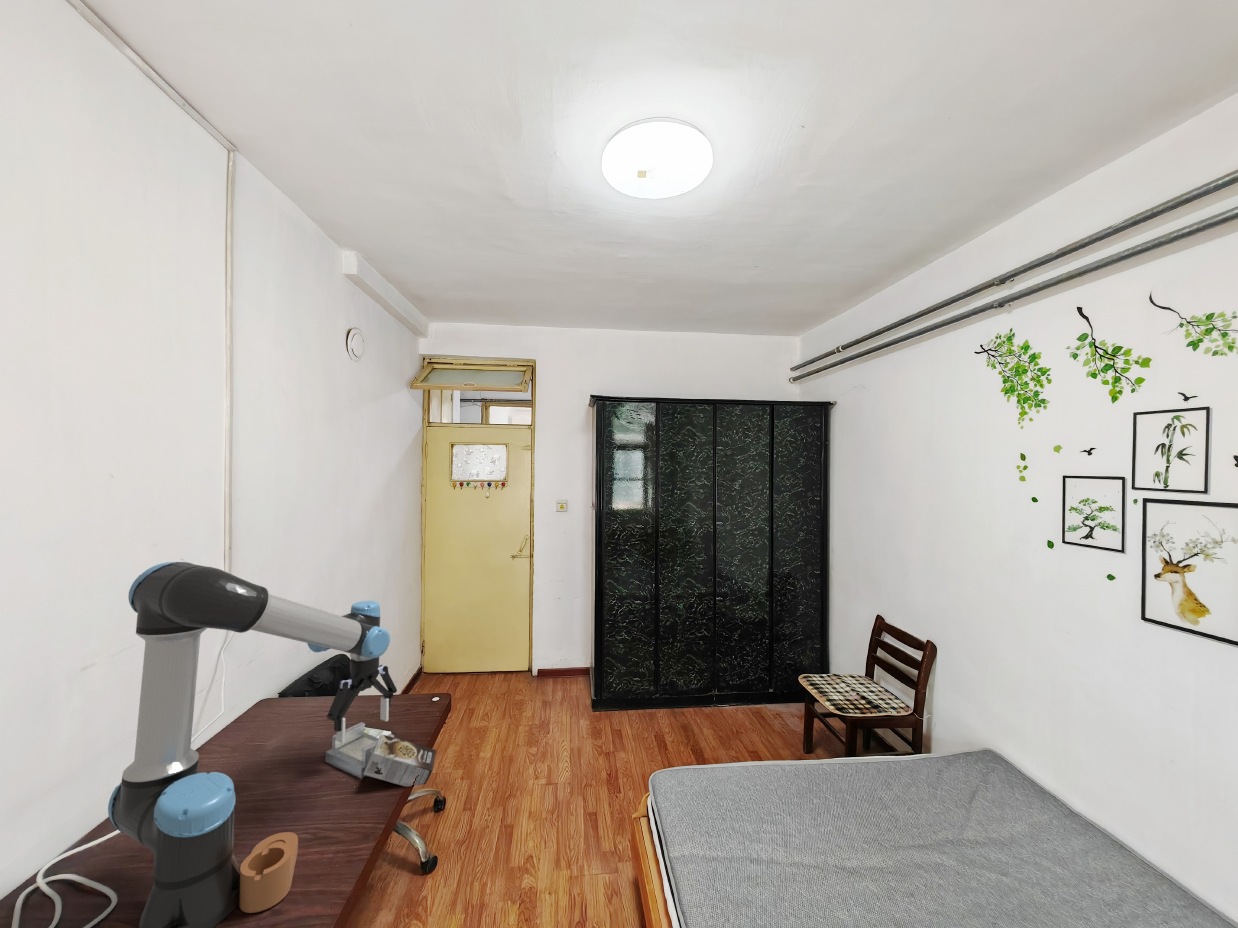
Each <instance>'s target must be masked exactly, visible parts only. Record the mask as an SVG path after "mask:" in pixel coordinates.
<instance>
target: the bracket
mask: <svg viewBox="0 0 1238 928" xmlns="http://www.w3.org/2000/svg"><path fill="white" fill-rule="evenodd" d="M298 850H299V837H298V835H297V834H296V833H294V832H291V831H288V832H287V831H284V832H279V833H275V834H272V835H270V836H267V837H266V838H264V839H262V840H261V841H260V842H259V843H257V844H256V845H255V846H254V847H253V849H252V850H251V853H250V854H249V855H248V856H246V858H245V859H244V860H243V861H242V863H241V865H240V866H239V868H240V901H239V903H238V904H239V905H238V906H239V909H240V910H241V911H242V912H244V913H249V914H253V913H259V912H263V911H265V910H268V909H271V908H272V907H273V906H276V905H277V904H279V902H281V901H282V900H283V899H284V898H285V897H286V896H287V895H288V893H289V892H290V890H291V887H292V882H293V877H294V872H295V869H296V868H295V867H296V864H297V863H296V862H297V857H298V853H299V851H298Z"/></svg>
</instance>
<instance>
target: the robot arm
mask: <svg viewBox="0 0 1238 928" xmlns="http://www.w3.org/2000/svg"><path fill="white" fill-rule="evenodd" d="M128 603H129V606H130V607H131V609H132V610H133V612H134V613H137V616H136V627H135V629H136V630H135V634H136V635H137V636H138V637H139V638H141V639H142V640H144V642H145V643H144V652H143V664H142V675H141V682H140V683H141V686H140V697H139V706H138V707H139V708H138V715H137V716H138V718H137V725H136V727H137V729H136V737H135V738H136V740H135V748H134V749H135V750H134V759H133V761H132V763H131V764H130V765H128V766H127V767H126V768H125V769H124V770H123V771H122V776H121V782H120V783H119V784H118V785H117V786H116V787H115V788H114V790H113V791H112V793H111V795H110V798H109V801H108V805H107V813H108V814H107V815H108V817H109V821H111V823H112V824H113V826H114V827H115V829H117V831H119V832H120V833H121V834H125V835H126V836H128V837H130V838H131V839H133V840H135V841H136V842H138V843H140V844H141V845H142V846H144V847H146V848H147V849H149V850H150V851H152V853H153V856H154V857H153V885H152V888H151V890H150V892H149V895H148V897H147V901H146V903H145V906H144V909H143V911H142V913H141V915H140V916H141V917H140V919H139V928H214V927H215V926H217V925H218V924H219V923H221V922H222V921H223V920H225V919H226V918H227V917H229V915H230V914H231V913H232V912H233V911H234V910H235V908H236V907H237V906H239V905H238V904H239V901H240V866H239V864H238V862H237V860H236V857H235V854H234V838H235V837H234V836H235V835H234V834H235V831H234V830H235V826H234V825H235V805H236V798H237V797H236V792H235V785H234V782H233V779H231V778H230V777H229V776H228V775H227V774H225V773H224V772H223V773H222V772H217V771H210V772H209V773H207V771H206V772H198V771H199V761H200V753H199V752H198V751H197V750H194V749H193V748H191V747H192V736H193V726H194V725H193V722H194V714H195V713H194V712H195V701H196V700H195V699H196V688H197V679H198V666H199V665H198V664H199V654H200V644H201V635H202V633H203V632H204V631H206V630H207V629H214V630H215V629H216V630H224V631H229V632H235V633H239V634H240V633H247V632H248V631H254V632H258V633H263V634H267V635H271V636H275V637H281V638H284V639H289V640H293V641H296V642H297V641H298V642H301V643H306V644H307V647H308V648H309V649H310V651H312V652H314V653H321V652H326V651H328V650H331V649H332V650H337V651H341V652H344V653H347V654H349V657H350V659H349V671H350V672H349V673H350V678H349V679H347V680H343V679H341V680H340V681H339V682H338V689H337V692H336V693H335V697H334V699H333V701H332V703H331V705H330V708H329V710H328V712H327V714H326V719H328V720H330V721H332V722H333V730H334V732H336V734H335V735H336V741H338V742H340V743H344V742H345V730H346V717H345V715H346V713H347V711H348V710H349V708H350V706H351V705H352V704H353V702H354V700H355V699H356V697H357V696H358V695H359V694H360V692H364V691H366V690H367V689H371V688H372V687H374V689H376V690H377V692H379V693H380V694H381V695H383V696H381V697H380V713H379V714H380V716H379V717H380V718H379V719H380V720H381V721H384V722H388V721H389V714H390V713H389V711H390V708H391V705H392V703H391V701H392V699H393V698H394V694H396V693H397V692H398V689H397V686H396V685H395V683H394V680H393V679H392V677H391V674H390V673H389V666H388V665H384V664H380V657H381V656H382V655H384V654H385V653H386V651H387V650H388V647H389V646H390V642H391V636H390V633H389V631H388V630H387V629H386V628H384V627H381V608H380V607H381V606H380V603H379V602H377V601H374V600H361V601H358V602H355V603H353V604H352V605H351V608H350V613H347V614H344V615H338V614H335V613H332V612H328V611H325V610H321V609H318V608H315V607H312V606H308V605H305V604H302V603H299V602H297V601H294V600H289V599H287V598H282V597H279V596H276V595H273V594H270V592H269V589H268V588H266V587H264V586H261V585H259V584H256V583H253V582H251V581H248V580H245V579H243V578H240V577H238V576H236V575H234V574H232V573H230V572H228V571H225V570H222V569H220V568H217V567H213V566H205V565H199V564H195V563H192V562H188V561H168V562H163V563H159V564H156V565H153V566H151V567H149V568H148V569H146V570H144V571H143V572H142V573H141V574H139V575H138V576H137V577H136V578H135V580H133V582H132V583H131V586H130V588H129V590H128ZM378 676H380V677H381V680H382V681H383V682H384V685H385V686H384V685H383V684H382V683H381V682H380V680H378V679H377V678H378Z"/></svg>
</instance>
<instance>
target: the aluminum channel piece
mask: <svg viewBox="0 0 1238 928" xmlns="http://www.w3.org/2000/svg"><path fill="white" fill-rule="evenodd" d="M365 726H366V723H365V722H362V721H361V722H359V723H357V724H354V725H352V726H350V727H348V728H345V742H344V743H340V742H338V741H336V734H334V735H332V736H331V738H332V740H331V749H329V750H327V751H325V763H327V764H328V765H331V766H333V767H335V768H337V769H340V770H341V771H343V772H346V773H347V772H348V773H347V774H349V773H350V774H349V775H351V774H352V775H351V776H353V775H354V776H353V777H355V776H357V777H359V778H363V777H365V776H366V775H363V774H364V771H365V769H366V766H367V764H368V761H369V759H370V756H371V754H372V751H373V749H374V747H375V745H376V743H377V741H378V739H379V737H376V736H374V735H371V734H369V733H366V732H365ZM386 736H390V737H393V738H395V735H394V734H392V733H388V734H387V735H386ZM357 777H356V778H357ZM366 777H367V776H366ZM366 777H365V778H366ZM359 778H358V779H359ZM363 779H364V778H363Z"/></svg>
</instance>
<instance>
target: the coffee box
mask: <svg viewBox="0 0 1238 928" xmlns="http://www.w3.org/2000/svg"><path fill="white" fill-rule="evenodd" d="M378 738H379V739H378V741H377V743H376V745H375V747H374V749H373V751H372V754H371V756H370V759H369V761H368V764H367V766H366V769H365V771H364V774H363V775H367V776H366V777H371V778H374V779H378V780H380V781H381V780H382V781H385V782H389V783H392V784H395V785H399V786H402V787H414V786H415V787H416V786H423V785H426V784H427V782H428V781H429V779H430V777H431V774H432V773H433V769H434V763H435V760H436V755H437V749H434V748H430V747H426V746H423V745H420V744H416V743H413V742H410V741H406V740H403V739H400V738H397V737H394V738H393V737H390V736H387V735H385V734H384V733H380V735H379V737H378ZM418 775H419V776H418ZM417 776H418V777H417ZM416 777H417V778H416ZM415 778H416V781H415ZM414 781H415V783H414V786H412V785H413V782H414Z"/></svg>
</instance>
